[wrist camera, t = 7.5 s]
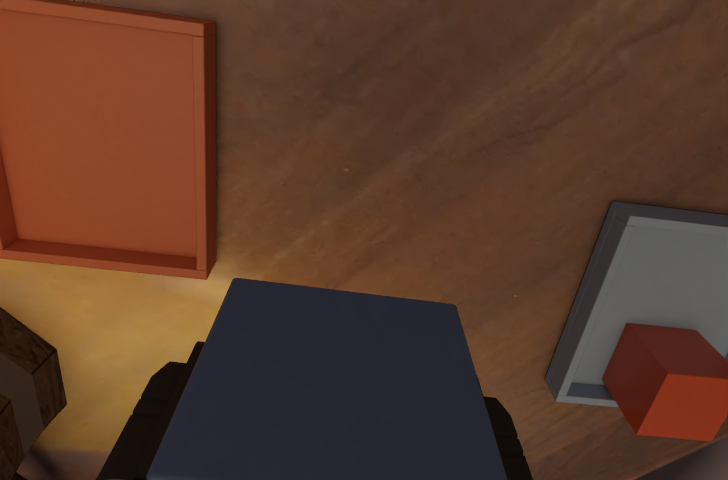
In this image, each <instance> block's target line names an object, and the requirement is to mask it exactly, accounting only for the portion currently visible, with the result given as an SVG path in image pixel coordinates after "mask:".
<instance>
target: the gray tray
mask: <svg viewBox="0 0 728 480" xmlns="http://www.w3.org/2000/svg"><path fill="white" fill-rule="evenodd" d="M626 323H632V324H642V325H651V326H661V327H671V328H680V329H690V330H697V331H698V332H699V333H700V334H701V335H702V336H703V337H704V338H705V339H706V340H707V341H708V342H709V343H710V344H711V345H712V346H713V347H714V348H715V349H716V350H717V351H718V352H719V353H720V354H721V355H722V356H723V357H724V358H725V359H726V360H727V361H728V215H723V214H715V213H706V212H698V211H690V210H682V209H673V208H665V207H657V206H649V205H640V204H632V203H624V202H616V201H612V203H611V206H610V208H609V211H608V214H607V216H606V219H605V222H604V224H603V227H602V229H601V232H600V235H599V237H598V240H597V243H596V245H595V248H594V251H593V253H592V256H591V258H590V261H589V264H588V266H587V269H586V272H585V274H584V277H583V280H582V282H581V285H580V287H579V290H578V293H577V295H576V298H575V301H574V303H573V306H572V309H571V311H570V314H569V317H568V319H567V322H566V324H565V327H564V330H563V332H562V335H561V338H560V340H559V343H558V346H557V348H556V351H555V353H554V356H553V359H552V361H551V364H550V367H549V369H548V372H547V375H546V377H545V380H546V382H547V384H548V386H549V389H550V391H551V393H552V395H553V397H554V399H555V401H556V402H567V403H578V404H589V405H600V406H611V407H619V406H618V405H617V403H616V402H615V400H614V398H613V397H612V395H611V394H610V392H609V390H608V389H607V387H606V386H605V384H604V383H603V381H602V377H603V375H604V373H605V371H606V368H607V366H608V364H609V362H610V359H611V357H612V355H613V353H614V350H615V348H616V346H617V344H618V341H619V339H620V337H621V335H622V332H623V330H624V328H625V326H626Z"/></svg>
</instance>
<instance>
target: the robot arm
mask: <svg viewBox="0 0 728 480" xmlns="http://www.w3.org/2000/svg"><path fill="white" fill-rule="evenodd" d="M204 344H205V342H199V341H198V342H197V343H196V344H195V346H194V348H193V351H192V353H191V355H190V357H189V359H188V361H187V363H178V362H168V363H167V364H166V365H165V366H164V367H163V368H161V369H160V370H159V371H158V372H157V373H155V374H154V375H153V376H152V377H151V379H150V380H149V382H148V384H147V386H146V388H145V390H144V392H143V393H142V395H141V399H139V401H138V403H137V405H136V406H135V408H134V410H133V414H132V415H131V416H130V418H129V420H128V421H127V423H126V425H125V427H124V429H123V431H122V433H121V434H120V436H119V438H118V440H117V442H116V444H115V446H114V447H113V449H112V451H111V453H110V455H109V457H108V459H107V460H106V462H105V464H104V466H103V468H102V470H101V472H100V474H99V475H98V477H97V478H96V480H147V479H146V476H147V473H148V471H149V469H150V467H151V464H152V462H153V460H154V457H155V455H156V453H157V451H158V448H159V446H160V444H161V442H162V439H163V437H164V435H165V432H166V430H167V428H168V426H169V423H170V421H171V419H172V417H173V414H174V412H175V410H176V407H177V405H178V403H179V401H180V398H181V396H182V394H183V392H184V389H185V387H186V385H187V382H188V380H189V378H190V376H191V373H192V371H193V369H194V366H195V364H196V362H197V360H198V357H199V355H200V353H201V351H202V348H203V346H204ZM477 379H478V377H477ZM478 382H479V380H478ZM479 385H480V383H479ZM480 389H481V387H480ZM481 392H482V390H481ZM482 396H483V393H482ZM483 399H484V402H485V406H486V409H487V413H488V416H489V419H490V423H491V426H492V429H493V433H494V436H495V440H496V443H497V446H498V450H499V453H500V456H501V460H502V463H503V467H504V470H505V473H506V477H507V480H533V478H532V476H531V473H530V470H529V467H528V464H527V461H526V458H525V456H523V450H522V447H521V444H520V441H519V439H517V436H518V435H517V432H516V430H515V427H514V424H513V421H512V418H511V416H510V414H509V413H508V412H507V411H506V409H505V408H504V407H503V406H502V404H501V403H500V402H499V401H498V400H497V398H492V397H483Z"/></svg>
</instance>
